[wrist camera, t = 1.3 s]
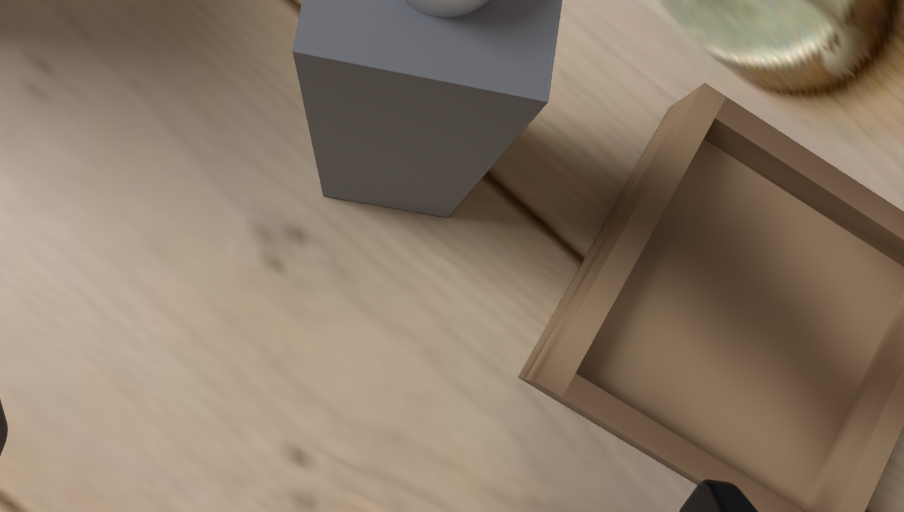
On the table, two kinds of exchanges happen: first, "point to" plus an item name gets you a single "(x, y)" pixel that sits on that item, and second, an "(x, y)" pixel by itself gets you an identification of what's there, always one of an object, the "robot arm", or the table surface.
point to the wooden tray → (740, 315)
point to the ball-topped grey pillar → (420, 93)
